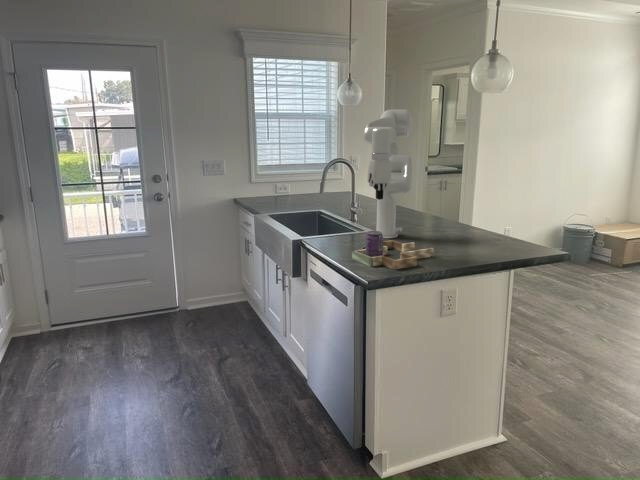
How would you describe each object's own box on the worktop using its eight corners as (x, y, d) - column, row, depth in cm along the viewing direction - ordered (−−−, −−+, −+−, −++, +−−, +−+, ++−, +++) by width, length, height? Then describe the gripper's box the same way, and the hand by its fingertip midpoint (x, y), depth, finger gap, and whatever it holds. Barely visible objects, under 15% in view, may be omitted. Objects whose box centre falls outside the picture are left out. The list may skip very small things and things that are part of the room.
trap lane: (401, 246, 224) (401, 238, 224) (446, 260, 200) (447, 252, 199) (341, 254, 208) (341, 247, 208) (383, 271, 183) (383, 262, 183)
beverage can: (381, 258, 203) (382, 230, 200) (383, 262, 196) (384, 234, 193) (364, 258, 202) (365, 230, 199) (366, 263, 196) (367, 234, 193)
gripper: (388, 155, 214) (387, 196, 218) (361, 157, 206) (360, 199, 211) (399, 156, 207) (397, 198, 212) (371, 158, 200) (371, 202, 205)
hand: (379, 198), depth 211 cm, fingers closed
